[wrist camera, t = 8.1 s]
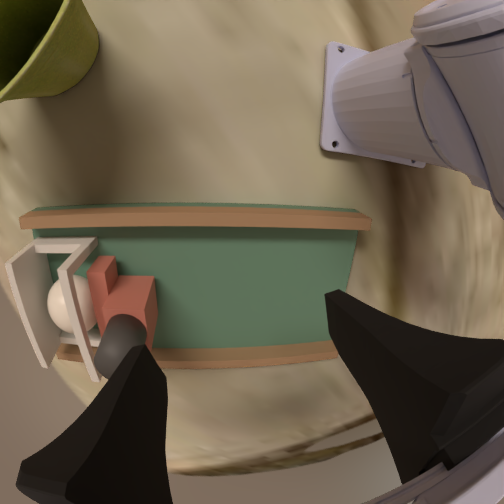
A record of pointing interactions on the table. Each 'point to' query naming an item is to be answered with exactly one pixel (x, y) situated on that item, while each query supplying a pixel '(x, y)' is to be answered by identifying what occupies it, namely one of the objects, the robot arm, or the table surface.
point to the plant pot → (44, 47)
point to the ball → (60, 311)
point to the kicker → (120, 312)
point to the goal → (36, 295)
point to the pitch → (220, 274)
